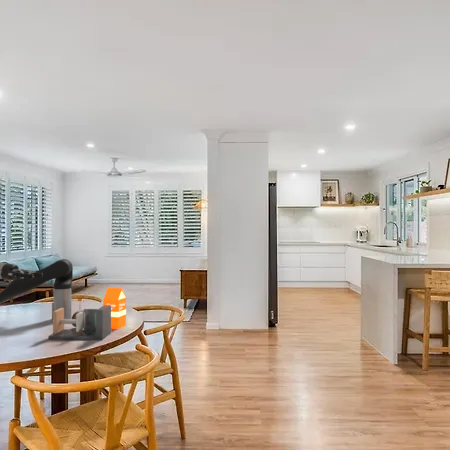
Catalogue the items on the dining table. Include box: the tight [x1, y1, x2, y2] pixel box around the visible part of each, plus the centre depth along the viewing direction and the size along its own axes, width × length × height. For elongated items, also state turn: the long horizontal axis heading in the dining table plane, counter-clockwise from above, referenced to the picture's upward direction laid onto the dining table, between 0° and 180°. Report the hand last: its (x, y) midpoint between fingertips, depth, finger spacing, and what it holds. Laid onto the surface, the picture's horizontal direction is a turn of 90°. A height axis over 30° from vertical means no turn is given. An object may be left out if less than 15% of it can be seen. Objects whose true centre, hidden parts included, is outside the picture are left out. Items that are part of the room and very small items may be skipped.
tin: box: [71, 309, 84, 328], centre depth 203 cm, size 15×3×8 cm, turn 148°
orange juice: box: [102, 287, 127, 330], centre depth 202 cm, size 8×9×20 cm
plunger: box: [52, 308, 76, 334], centre depth 183 cm, size 10×8×10 cm
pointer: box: [75, 302, 84, 332], centre depth 183 cm, size 1×6×13 cm, turn 178°
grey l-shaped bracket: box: [47, 305, 112, 341], centre depth 184 cm, size 25×12×14 cm, turn 88°
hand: (37, 276), depth 185 cm, fingers open, 8 cm apart
